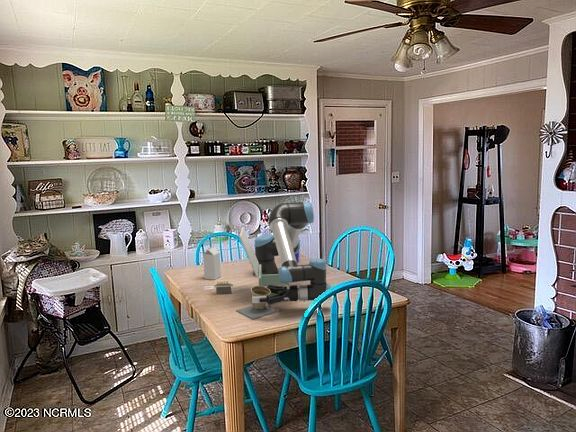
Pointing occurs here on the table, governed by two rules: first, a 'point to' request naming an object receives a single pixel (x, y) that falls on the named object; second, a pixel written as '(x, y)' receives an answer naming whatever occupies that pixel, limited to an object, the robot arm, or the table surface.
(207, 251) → the milk carton
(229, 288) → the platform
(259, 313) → the mat
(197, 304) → the table surface
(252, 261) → the frame lid
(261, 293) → the flower pot
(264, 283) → the cold frame
